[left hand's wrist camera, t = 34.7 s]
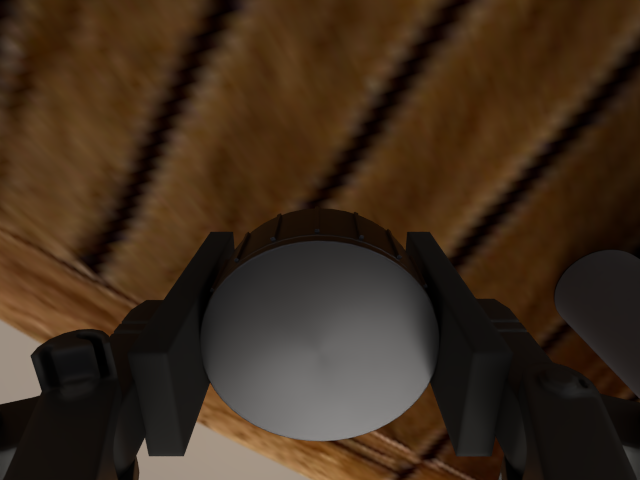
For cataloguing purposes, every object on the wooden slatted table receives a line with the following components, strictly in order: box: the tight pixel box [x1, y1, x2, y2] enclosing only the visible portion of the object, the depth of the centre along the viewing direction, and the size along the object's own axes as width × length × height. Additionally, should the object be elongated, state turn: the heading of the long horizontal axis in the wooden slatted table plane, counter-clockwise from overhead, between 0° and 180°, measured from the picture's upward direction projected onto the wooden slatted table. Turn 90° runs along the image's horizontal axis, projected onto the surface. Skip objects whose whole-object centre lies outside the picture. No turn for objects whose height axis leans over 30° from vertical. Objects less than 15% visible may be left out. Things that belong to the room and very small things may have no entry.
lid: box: [199, 207, 441, 441], centre depth 11 cm, size 6×6×2 cm
